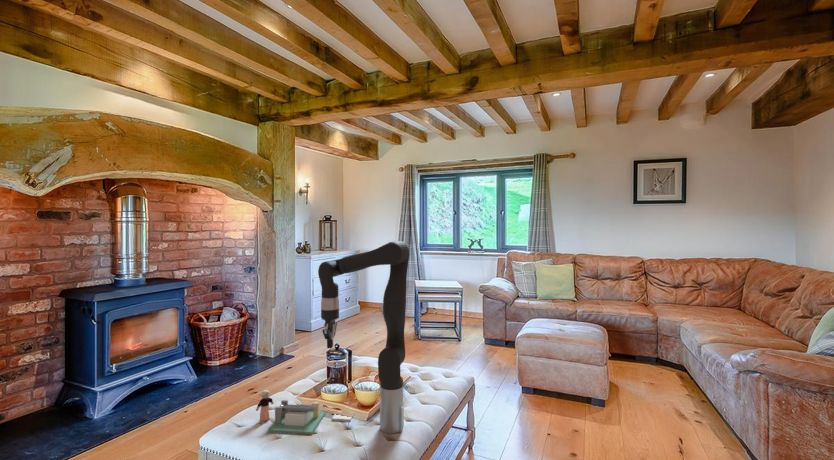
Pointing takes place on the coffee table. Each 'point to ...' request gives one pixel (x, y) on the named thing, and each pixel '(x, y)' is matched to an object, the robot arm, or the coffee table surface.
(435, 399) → the coffee table surface
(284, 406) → the gray bar
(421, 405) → the coffee table surface
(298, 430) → the board
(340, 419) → the external hard drive
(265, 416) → the grandmother figurine
